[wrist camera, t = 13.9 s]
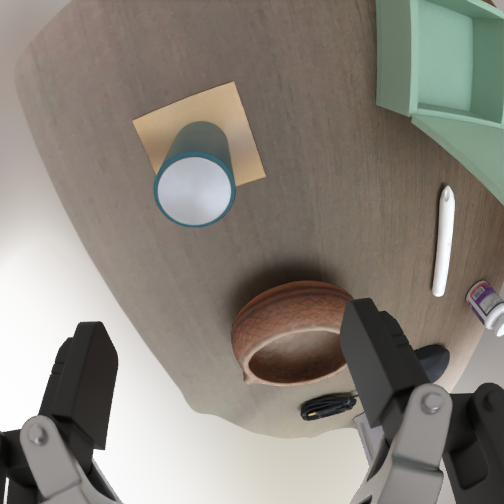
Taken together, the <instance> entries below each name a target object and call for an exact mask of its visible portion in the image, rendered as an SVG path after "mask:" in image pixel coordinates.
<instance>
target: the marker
mask: <svg viewBox="0 0 504 504" xmlns="http://www.w3.org/2000/svg"><path fill="white" fill-rule="evenodd" d="M454 209H455V199H454V195H453V192H452V190H451V188H450V187H449V186H448V185H447V186H446V187H445V188H444V190H443V191H442V194H441V197H440V207H439V228H438V242H437V253H436V263H435V272H434V280H433V287H432V293H433V294H434V295H435V296H438V297H439V296H442V295H443V294H444V291H445V285H446V279H447V274H448V266H449V259H450V251H451V243H452V234H453V222H454Z"/></svg>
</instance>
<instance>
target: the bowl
mask: <svg viewBox="0 0 504 504" xmlns="http://www.w3.org/2000/svg"><path fill="white" fill-rule="evenodd" d="M349 300H354V299H353V297H352V296H351V295H350V294H349V293H348V292H347V291H345V290H343V289H341V288H339V287H337V286H335V285H332V284H329V283H325V282H321V281H295V282H291V283H287V284H283V285H280V286H277V287H274V288H271V289H269V290H266V291H265V292H263V293H261V294H259V295H258V296H256V297H255V298H254V299H252V300H251V301H250V302H249V303H247V304H246V305H245V306H244V307H243V308H242V309H241V310H240V311H239V313H238V314H237V316H236V318H235V320H234V322H233V325H232V330H231V342H232V348H233V351H234V355H235V357H236V360H237V362H238V363H239V365H240V367H241V368H242V370H243V375H244V382H245V383H246V384H248V385H250V384H253V383H262V384H267V385H272V386H294V385H304V384H310V383H313V382H317V381H321V380H324V379H326V378H328V377H331V376H333V375H335V374H338V373H339V372H340V371H342V370H343V369H344V368H346V367H347V366H348V365H347V362H346V360H345V357H344V355H343V352H342V349H341V346H340V338H339V334H340V328H341V324H342V320H343V315H344V310H345V306H346V303H347V301H349Z"/></svg>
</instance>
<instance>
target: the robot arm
mask: <svg viewBox="0 0 504 504" xmlns="http://www.w3.org/2000/svg"><path fill="white" fill-rule="evenodd" d="M403 333H404V332H403V330H402V329H401V327H400V325H399V323H398V322H397V320H396V319H395V318H393V317H392V316H391V315H390V314H389V313H387V312H386V311H380V312H379V311H378V310H377V308H376V306H375V304H374V302H373V301H372V299H371V298H363V299H356V300H349V301H347V303H346V306H345V310H344V315H343V320H342V324H341V328H340V334H339V338H340V346H341V349H342V352H343V355H344V357H345V360H346V362H347V365H348V368H349V370H350V373H351V376H352V378H353V381H354V384H355V387H356V389H357V392H358V395H359V398H360V400H361V403H362V406H363V409H364V411H365V414H366V417H367V420H368V423H369V426H370V428H371V429H372V428H375V427H379V426H382V429H383V432H384V434H383V436H382V438H381V441H380V443H379V446H378V448H377V451H376V453H375V456H374V458H373V460H372V463H371V465H370V468H369V470H368V472H367V474H366V477H365V479H364V481H363V483H362V485H361V486H360V488H359V489H358V491H357V492H356V494H355V495H354V497H353V499H352V501H351V503H350V504H436V502H437V499H438V496H439V493H440V490H441V486H442V483H443V478H444V476H443V472H442V471H441V470H440V469H439V466H440V461H441V457H442V458H443V461H444V464H445V468H446V471H447V474H448V477H449V480H450V483H451V486H452V490H453V493H454V497H455V501H456V504H504V390H503V389H502V388H501V387H500V386H499V385H497V384H494V383H484V384H482V385H480V386H479V387H478V388H477V390H476V391H475V392H474V393H466V394H450V393H448V392H447V391H446V390H445V389H444V388H442V387H441V386H439V385H436V384H432V383H431V382H430V380H429V379H428V377H427V375H426V373H425V371H424V369H423V367H422V365H421V363H420V361H419V360H418V358H417V356H416V354H415V352H414V350H413V348H412V347H411V345H409V341H408V339H407V338H406V336H405V335H404V334H403ZM117 370H118V355H117V352H116V349H115V347H114V345H113V343H112V341H111V339H110V337H109V335H108V333H107V331H106V329H105V327H104V325H103V323H102V322H100V321H98V322H80V323H79V324H78V325H77V328H76V331H75V334H74V336H73V337H71V338H68V339H67V340H66V341H65V342H64V343H63V345H62V346H61V347H60V348H59V351H58V353H57V356H56V359H55V364H54V365H53V368H52V371H51V372H52V374H51V375H50V377H49V380H48V384H47V387H46V390H45V393H44V397H43V400H42V404H41V407H40V410H39V413H38V415H37V416H34V417H31V418H30V419H28V420H27V421H26V422H25V423H24V425H23V427H22V429H19V430H13V431H7V432H1V431H0V504H3V501H4V492H5V483H6V477H7V478H9V486H8V496H7V504H123V503H122V502H121V500H120V499H119V497H118V496H117V495H116V493H115V492H114V490H113V489H112V487H111V486H110V484H109V483H108V481H107V480H106V478H105V476H104V475H103V474H102V472H101V470H100V468H99V467H98V465H97V463H96V462H95V461H94V459H93V458H92V455H93V449H99V450H105V445H106V437H107V429H108V423H109V416H110V410H111V404H112V398H113V392H114V387H115V381H116V376H117Z"/></svg>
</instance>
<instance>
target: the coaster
mask: <svg viewBox="0 0 504 504" xmlns="http://www.w3.org/2000/svg"><path fill="white" fill-rule="evenodd" d="M198 121H205V122H210V123H213V124H215V125H216V126H218V127H219V128H220V129H221V130H222V131H223V132H224V134H225V135H226V137H227V140H228V145H229V151H230V156H231V162H232V168H233V173H234V179H235V185H236V186H239V185H242V184H245V183H248V182H251V181H254V180H257V179H260V178H263V177H266V175H265V172H264V169H263V166H262V163H261V160H260V157H259V153H258V150H257V147H256V144H255V141H254V138H253V135H252V132H251V129H250V126H249V123H248V120H247V117H246V114H245V111H244V108H243V106H242V103H241V100H240V97H239V94H238V91H237V88H236V85H235V82H234V81H232V82H229V83H226V84H223V85H220V86H217V87H214V88H211V89H209V90H206V91H203V92H200V93H198V94H195V95H192V96H190V97H187V98H184V99H182V100H179V101H177V102H174V103H172V104H169V105H167V106H164V107H162V108H160V109H157V110H155V111H153V112H150V113H148V114H146V115H144V116H141V117H139V118H137V119H135V120H133V124H134V126H135V128H136V131H137V133H138V135H139V137H140V140H141V142H142V144H143V147H144V149H145V151H146V153H147V156H148V158H149V160H150V162H151V164H152V167H153V169H154V171H155V173H156V175H157V173H158V171H159V169H160V167H161V165H162V163H163V161H164V159H165V157H166V155H167V153H168V151H169V149H170V147H171V145H172V143H173V141H174V140H175V138H176V136H177V134H178V133H179V131H180V130H181V129H182V128H183V127H185V126H186V125H188V124H190V123H193V122H198Z"/></svg>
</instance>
